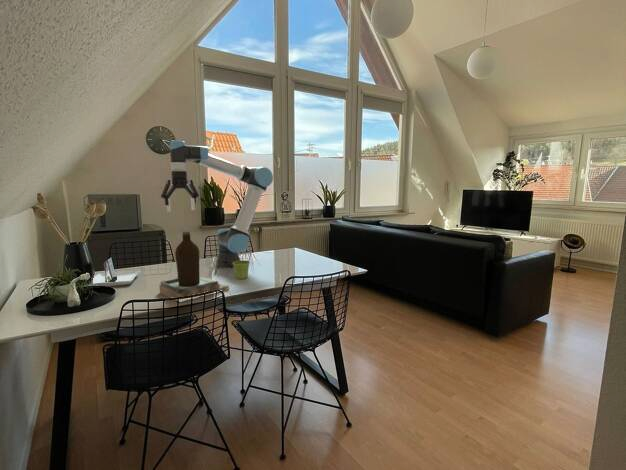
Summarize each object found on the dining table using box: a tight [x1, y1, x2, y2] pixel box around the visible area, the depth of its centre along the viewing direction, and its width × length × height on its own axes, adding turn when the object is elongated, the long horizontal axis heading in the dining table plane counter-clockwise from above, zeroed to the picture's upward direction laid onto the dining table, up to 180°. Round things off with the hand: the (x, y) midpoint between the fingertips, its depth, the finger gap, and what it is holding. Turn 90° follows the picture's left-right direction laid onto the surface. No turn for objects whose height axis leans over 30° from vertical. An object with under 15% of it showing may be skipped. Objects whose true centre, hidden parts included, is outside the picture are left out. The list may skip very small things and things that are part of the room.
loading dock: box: [158, 276, 230, 298], centre depth 165 cm, size 25×20×6 cm
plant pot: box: [233, 259, 251, 280], centre depth 188 cm, size 9×9×9 cm
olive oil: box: [174, 231, 201, 287], centre depth 161 cm, size 11×11×25 cm
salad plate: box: [92, 269, 141, 287], centre depth 181 cm, size 21×21×3 cm
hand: (181, 210), depth 185 cm, fingers open, 13 cm apart
